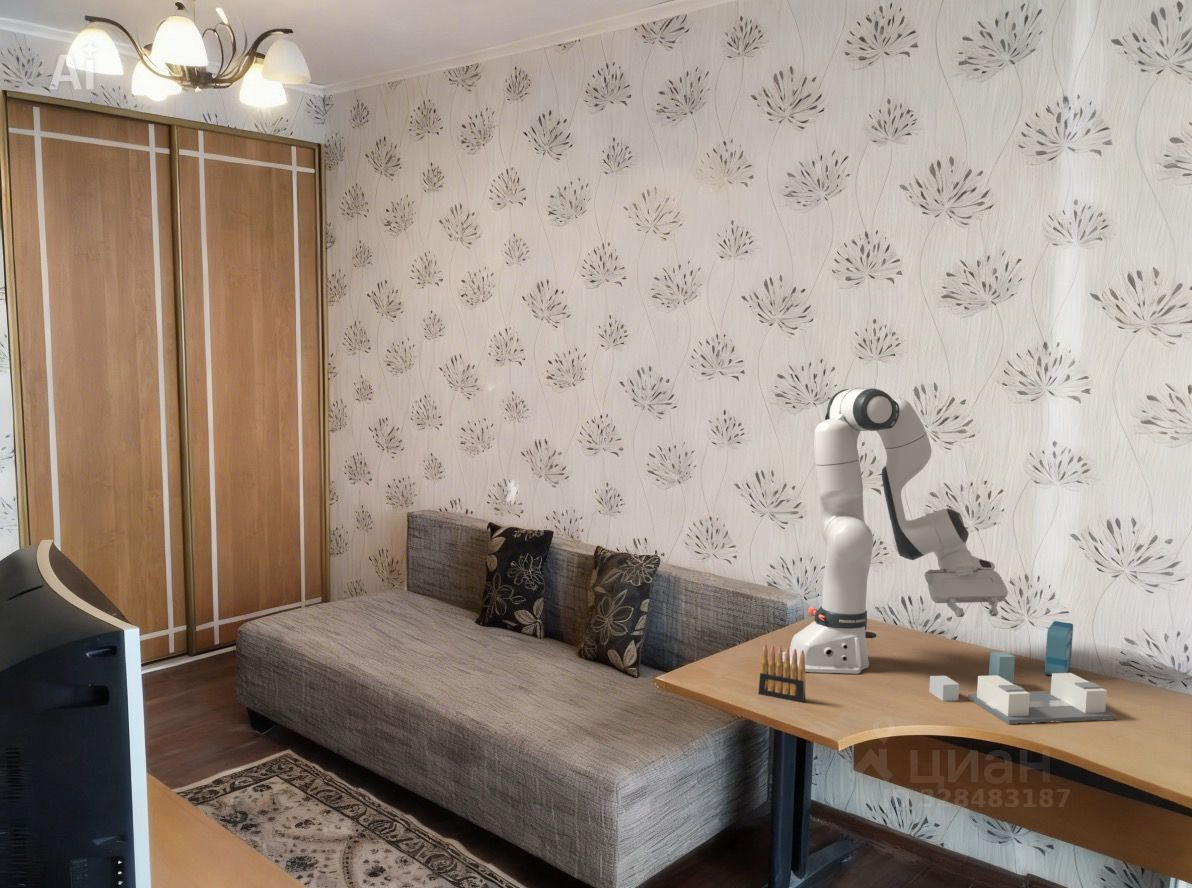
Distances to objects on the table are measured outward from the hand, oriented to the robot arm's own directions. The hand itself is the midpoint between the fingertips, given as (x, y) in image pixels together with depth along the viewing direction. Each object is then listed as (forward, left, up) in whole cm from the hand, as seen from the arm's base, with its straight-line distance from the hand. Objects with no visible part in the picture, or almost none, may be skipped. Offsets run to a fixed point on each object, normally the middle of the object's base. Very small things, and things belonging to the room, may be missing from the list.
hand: (977, 615), depth 236 cm
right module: (+9, -26, -14) cm, 32 cm away
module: (0, -11, -14) cm, 18 cm away
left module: (-10, -26, -14) cm, 31 cm away
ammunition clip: (-57, -13, -15) cm, 60 cm away
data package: (+22, -2, -15) cm, 27 cm away
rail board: (0, -26, -14) cm, 30 cm away
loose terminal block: (-18, -16, -15) cm, 28 cm away
